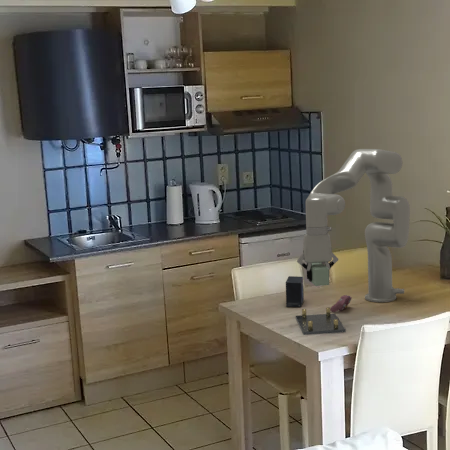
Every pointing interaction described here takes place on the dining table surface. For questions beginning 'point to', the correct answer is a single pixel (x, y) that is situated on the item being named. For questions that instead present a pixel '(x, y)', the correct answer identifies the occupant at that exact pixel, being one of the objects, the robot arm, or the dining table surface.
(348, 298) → the video game controller
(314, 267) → the green board block
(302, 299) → the small box
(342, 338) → the dining table surface
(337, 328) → the standoff plate
